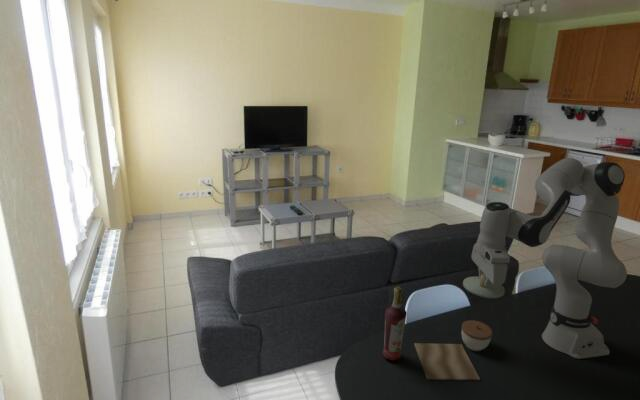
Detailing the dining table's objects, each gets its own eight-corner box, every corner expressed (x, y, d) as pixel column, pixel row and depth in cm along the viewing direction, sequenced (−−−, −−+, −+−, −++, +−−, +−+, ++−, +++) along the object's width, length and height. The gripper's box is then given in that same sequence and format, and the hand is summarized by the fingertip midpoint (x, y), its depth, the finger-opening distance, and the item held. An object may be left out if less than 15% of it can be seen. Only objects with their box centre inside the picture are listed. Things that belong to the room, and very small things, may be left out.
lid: (494, 278, 145) (496, 267, 144) (511, 298, 132) (514, 286, 131) (457, 277, 145) (459, 266, 144) (471, 297, 132) (473, 285, 130)
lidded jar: (492, 357, 140) (496, 335, 137) (461, 352, 142) (464, 331, 139) (485, 339, 150) (489, 318, 147) (457, 335, 152) (460, 314, 149)
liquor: (390, 366, 134) (397, 296, 126) (377, 354, 140) (383, 286, 132) (406, 358, 138) (413, 290, 130) (392, 347, 144) (398, 281, 136)
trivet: (461, 345, 146) (461, 344, 146) (480, 380, 129) (480, 379, 129) (414, 344, 146) (414, 343, 146) (427, 379, 129) (427, 378, 128)
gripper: (470, 236, 144) (465, 269, 148) (493, 260, 124) (487, 297, 128) (486, 236, 144) (481, 269, 148) (512, 260, 124) (505, 298, 128)
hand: (484, 282), depth 138 cm, fingers closed on lid, 3 cm apart
